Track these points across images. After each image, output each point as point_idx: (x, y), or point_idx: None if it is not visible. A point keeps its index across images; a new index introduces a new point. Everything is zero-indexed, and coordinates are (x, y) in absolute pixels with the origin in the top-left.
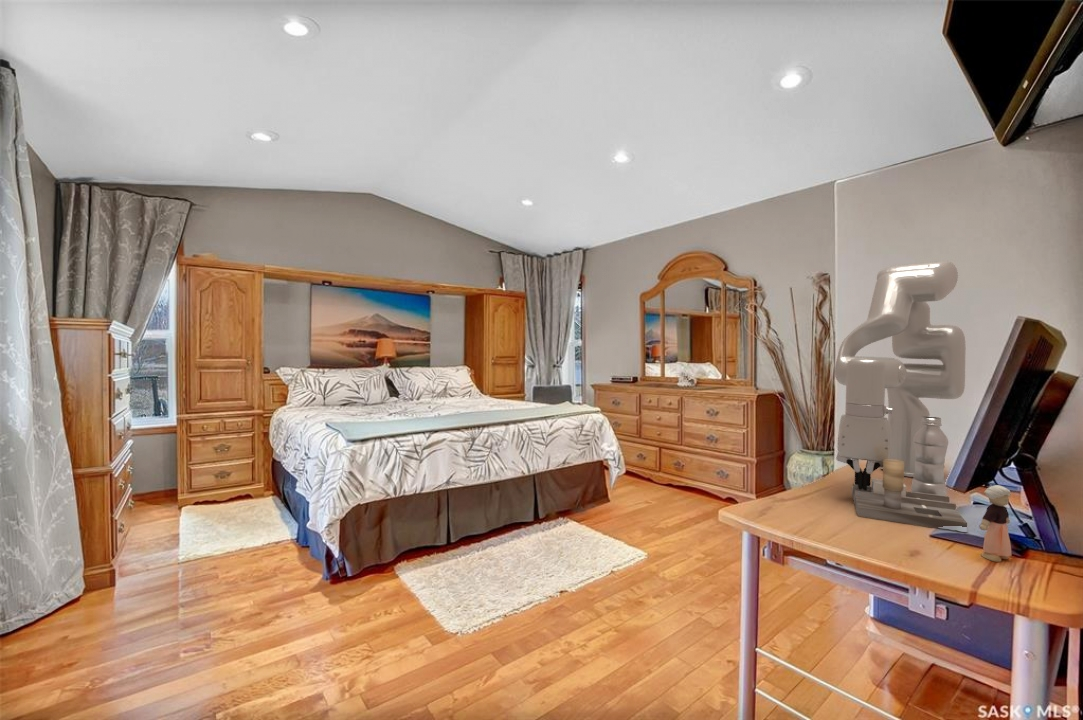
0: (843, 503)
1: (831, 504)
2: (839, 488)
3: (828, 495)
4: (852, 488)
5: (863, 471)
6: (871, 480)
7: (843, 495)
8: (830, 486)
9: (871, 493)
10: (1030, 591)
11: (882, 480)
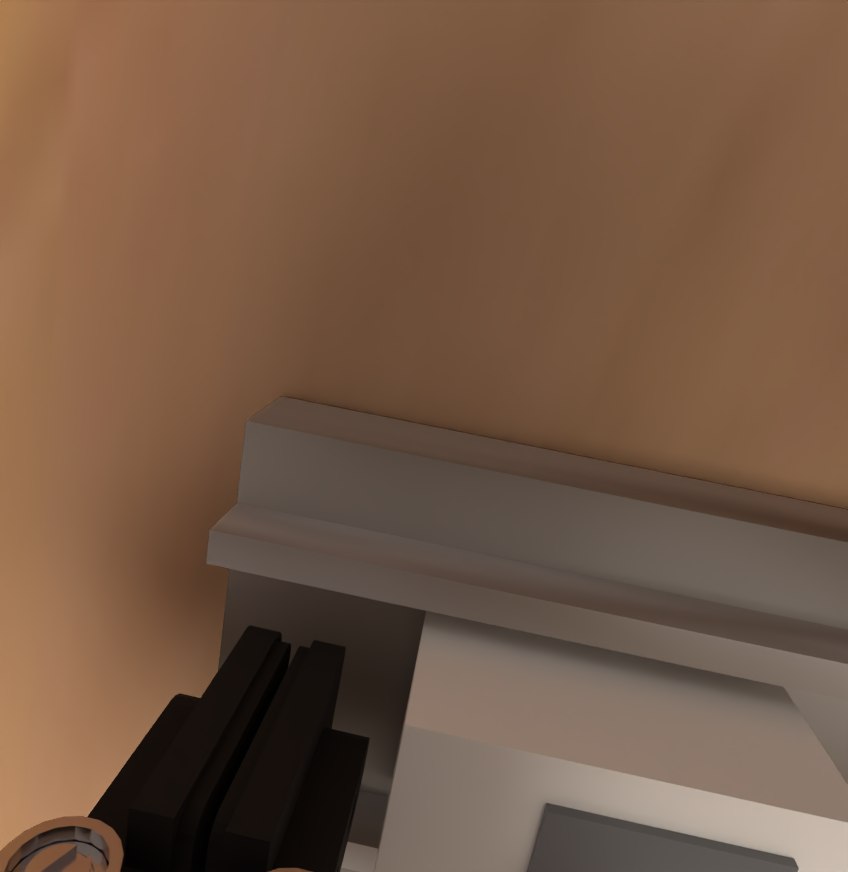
0: (149, 704)
1: (43, 759)
2: (188, 88)
3: (35, 476)
4: (242, 464)
5: (217, 869)
6: (408, 703)
7: (189, 422)
8: (84, 18)
9: (351, 863)
10: None
11: (540, 830)
